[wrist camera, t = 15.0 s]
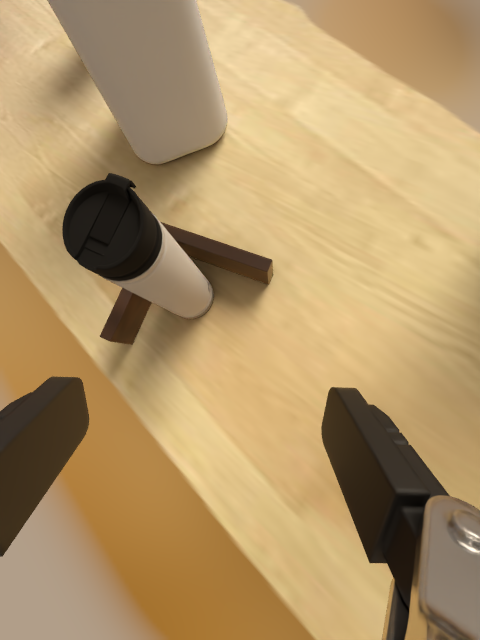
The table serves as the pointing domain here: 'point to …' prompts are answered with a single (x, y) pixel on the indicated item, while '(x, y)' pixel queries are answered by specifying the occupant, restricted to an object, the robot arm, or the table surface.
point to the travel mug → (133, 248)
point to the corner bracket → (134, 307)
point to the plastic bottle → (150, 71)
